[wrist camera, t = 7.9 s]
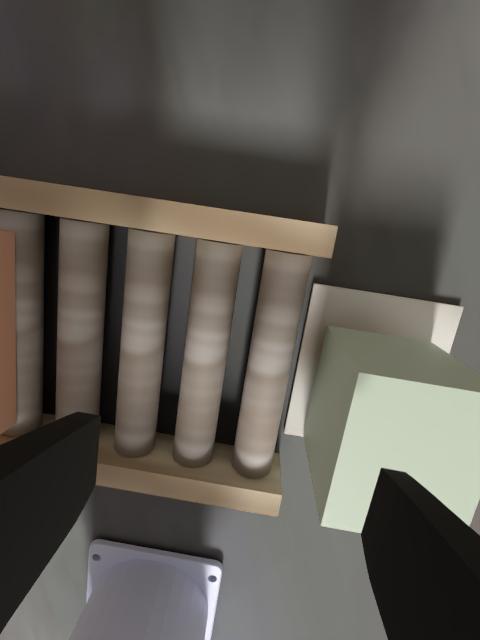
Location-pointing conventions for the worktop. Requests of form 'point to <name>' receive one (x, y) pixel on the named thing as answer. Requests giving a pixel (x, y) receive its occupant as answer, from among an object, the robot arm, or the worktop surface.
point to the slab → (7, 331)
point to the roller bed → (201, 338)
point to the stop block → (391, 424)
